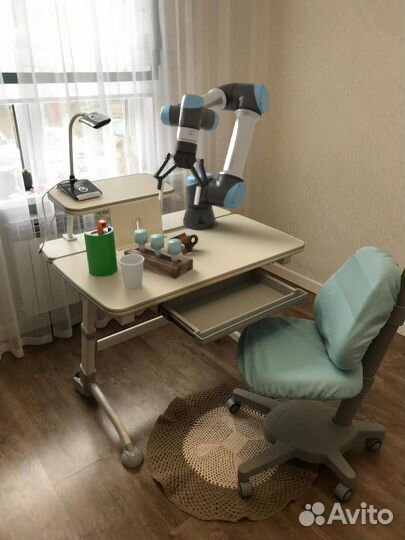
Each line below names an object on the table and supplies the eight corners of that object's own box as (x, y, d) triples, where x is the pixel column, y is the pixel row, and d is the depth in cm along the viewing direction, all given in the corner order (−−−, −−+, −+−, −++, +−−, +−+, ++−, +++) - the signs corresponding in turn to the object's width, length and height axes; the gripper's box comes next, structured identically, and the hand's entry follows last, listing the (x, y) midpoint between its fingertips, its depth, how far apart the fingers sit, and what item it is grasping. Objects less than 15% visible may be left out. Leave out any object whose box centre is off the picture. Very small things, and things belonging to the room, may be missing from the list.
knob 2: (157, 252, 164) (156, 232, 160) (167, 255, 161) (166, 235, 158) (148, 257, 160) (147, 236, 157) (158, 260, 158) (157, 240, 154)
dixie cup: (128, 294, 143) (125, 266, 138) (116, 284, 149) (114, 257, 144) (150, 287, 147) (148, 260, 142) (138, 277, 153) (136, 251, 148)
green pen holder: (107, 262, 163) (102, 212, 154) (123, 269, 158) (119, 218, 149) (85, 272, 156) (78, 220, 147) (101, 279, 151) (95, 226, 142)
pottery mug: (176, 258, 169) (168, 238, 168) (172, 259, 178) (164, 240, 177) (204, 246, 171) (196, 227, 171) (198, 247, 181) (191, 229, 180)
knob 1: (141, 247, 168) (140, 228, 164) (151, 250, 166) (150, 231, 162) (132, 251, 164) (131, 232, 161) (142, 254, 162) (141, 235, 158)
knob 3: (173, 257, 160) (173, 237, 156) (184, 261, 157) (184, 240, 154) (164, 262, 156) (164, 242, 153) (175, 266, 154) (175, 245, 150)
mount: (142, 252, 172) (142, 242, 171) (192, 268, 159) (192, 258, 158) (124, 260, 165) (124, 251, 163) (175, 278, 152) (175, 268, 150)
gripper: (154, 134, 144) (146, 198, 148) (223, 147, 153) (214, 207, 157) (150, 135, 151) (142, 196, 155) (216, 148, 160) (207, 205, 164)
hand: (178, 202), depth 156 cm, fingers open, 13 cm apart
